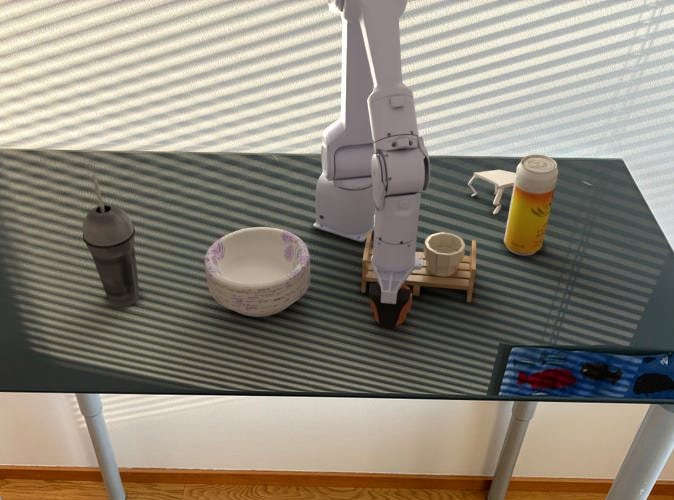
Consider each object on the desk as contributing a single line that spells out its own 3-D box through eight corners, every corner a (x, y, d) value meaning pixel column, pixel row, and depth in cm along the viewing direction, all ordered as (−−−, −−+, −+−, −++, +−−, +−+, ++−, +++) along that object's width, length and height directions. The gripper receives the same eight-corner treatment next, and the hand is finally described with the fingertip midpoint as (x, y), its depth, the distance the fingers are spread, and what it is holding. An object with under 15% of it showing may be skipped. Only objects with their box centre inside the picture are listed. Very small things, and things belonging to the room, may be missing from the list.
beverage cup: (107, 318, 112) (76, 199, 98) (93, 291, 116) (62, 173, 103) (154, 303, 114) (131, 185, 100) (139, 277, 119) (115, 161, 105)
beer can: (540, 259, 121) (559, 175, 111) (502, 254, 122) (517, 171, 112) (541, 237, 126) (560, 155, 115) (504, 233, 127) (519, 151, 116)
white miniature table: (474, 217, 130) (478, 192, 127) (465, 191, 136) (469, 166, 133) (544, 215, 131) (549, 190, 127) (532, 190, 137) (537, 165, 133)
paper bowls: (197, 281, 118) (190, 238, 112) (288, 258, 122) (286, 215, 117) (228, 342, 108) (222, 298, 102) (326, 314, 112) (326, 270, 106)
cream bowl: (416, 273, 114) (418, 248, 111) (432, 252, 118) (435, 228, 115) (452, 284, 112) (455, 259, 109) (467, 263, 116) (470, 238, 113)
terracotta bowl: (362, 322, 111) (363, 298, 107) (381, 300, 114) (382, 276, 111) (398, 335, 108) (400, 310, 105) (415, 312, 112) (418, 287, 109)
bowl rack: (366, 263, 121) (368, 231, 117) (471, 271, 119) (476, 239, 115) (361, 292, 116) (362, 260, 111) (470, 302, 114) (476, 269, 110)
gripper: (422, 267, 96) (414, 347, 105) (428, 205, 106) (420, 283, 115) (366, 262, 96) (363, 342, 106) (377, 201, 107) (373, 279, 116)
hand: (389, 311), depth 111 cm, fingers closed on terracotta bowl, 6 cm apart
